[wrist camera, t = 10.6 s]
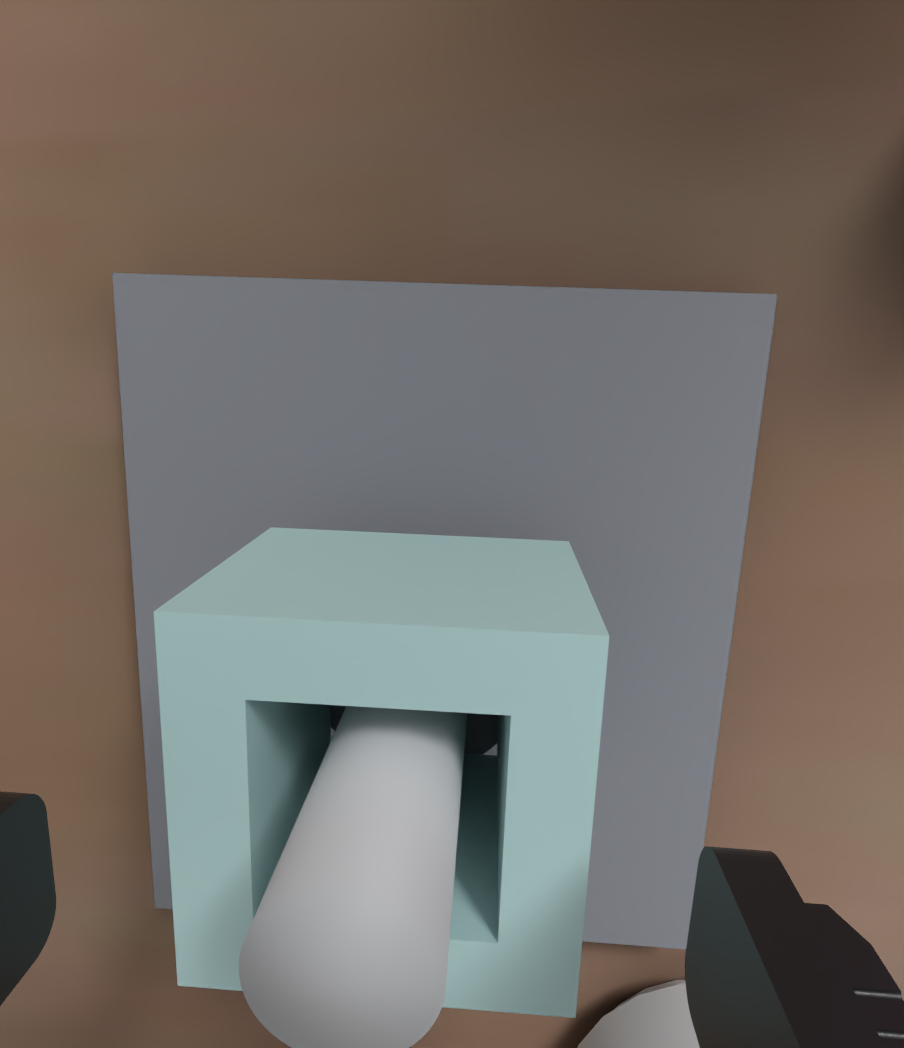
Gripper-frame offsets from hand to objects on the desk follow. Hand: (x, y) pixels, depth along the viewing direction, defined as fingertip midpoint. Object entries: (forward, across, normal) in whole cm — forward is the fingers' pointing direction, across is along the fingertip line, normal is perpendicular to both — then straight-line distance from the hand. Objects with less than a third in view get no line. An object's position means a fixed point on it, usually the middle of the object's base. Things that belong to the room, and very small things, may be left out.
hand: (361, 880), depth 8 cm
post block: (+9, 0, 0) cm, 9 cm away
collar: (+6, 0, 0) cm, 6 cm away
